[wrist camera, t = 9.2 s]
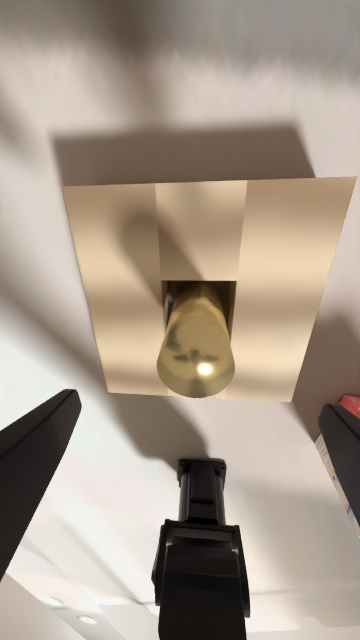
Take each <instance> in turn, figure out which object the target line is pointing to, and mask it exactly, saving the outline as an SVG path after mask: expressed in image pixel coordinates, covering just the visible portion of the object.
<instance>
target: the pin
mask: <svg viewBox="0 0 360 640" xmlns="http://www.w3.org/2000/svg"><path fill="white" fill-rule="evenodd" d="M157 372H158V375H159V377H160V379H161V381H162V382H163V383H164V384H165V386H167V387H168V388H169V389H170V390H172V391H173V392H175V393H177V394H179V395H182V396H186V397H191V398H204V397H209V396H213V395H215V394H217V393H219V392H221V391H222V390H224V389H225V388H226V387H227V386H228V385H229V384H230V383H231V381H232V379H233V377H234V374H235V362H234V357H233V353H232V349H231V344H230V340H229V335H228V331H227V326H226V322H225V317H224V313H223V309H222V304H221V300H220V295H219V292H218V289H217V288H216V286H215V285H214V284H213V283H212V282H210V281H200V280H188V281H186V282H185V283H183V284H182V285H181V287H180V288H179V290H178V292H177V296H176V299H175V302H174V306H173V309H172V312H171V316H170V319H169V322H168V326H167V329H166V332H165V336H164V339H163V342H162V346H161V349H160V352H159V356H158V359H157Z"/></svg>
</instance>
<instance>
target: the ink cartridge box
mask: <svg viewBox="0 0 360 640" xmlns="http://www.w3.org/2000/svg"><path fill="white" fill-rule="evenodd" d="M339 404H340V405H342V406H343V407H345V408H346V409H347V410H349V411H350V412H352V413H353V414H354V415H356V416H357V417H358V418H360V397H357V396H349V395H344V396H343V398H342V400H341V401H340V403H339ZM315 446H316V448H317V450H318V452H319V454H320V456H321V459H322V461H323V463H324V465H325V467H326V469H327V471H328V473H329V476H330V478H331V480H332V482H333V484H334V486H335V488H336V490H337V492H338V494H339V496H340V499H341V501H342V503H343V505H344V507H345V509H346V511H347V513H348V515H349V518H350V520H351V522H352V524H353V526H354V528H355V530H356V532H357V535H358V537H359V539H360V527H359V525H358V523H357V520H356V518H355V516H354V514H353V512H352V509H351V507H350V505H349V503H348V501H347V498H346V496H345V494H344V492H343V489H342V487H341V485H340V483H339V481H338V478H337V476H336V474H335V471H334V468H333V466H332V463H331V460H330V457H329V454H328V451H327V448H326V445H325V442H324V439H323V437H322V434H321V433H320V435H319V437H318V438H317V440H316V441H315Z"/></svg>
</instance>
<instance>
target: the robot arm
mask: <svg viewBox="0 0 360 640" xmlns="http://www.w3.org/2000/svg"><path fill="white" fill-rule="evenodd" d="M81 407H82V405H81V401H80V398H79V395H78V392H77V390H75V389H64V390H62V391H61V392H59V393H58V394H56V395H55V396H53V397H52V398H50V399H49V400H47V401H46V402H44V403H42V404H41V405H39V406H38V407H36V408H35V409H33V410H32V411H30V412H29V413H27V414H26V415H24V416H22V417H21V418H19V419H18V420H16V421H15V422H13V423H12V424H10V425H9V426H7V427H6V428H4V429H3V430H1V431H0V582H1V580H2V577H3V576H4V574H5V572H6V570H7V568H8V566H9V564H10V562H11V560H12V558H13V555H14V553H15V551H16V549H17V547H18V545H19V543H20V541H21V539H22V537H23V535H24V533H25V531H26V529H27V527H28V525H29V523H30V521H31V519H32V517H33V515H34V513H35V511H36V509H37V507H38V505H39V503H40V501H41V499H42V497H43V495H44V493H45V491H46V489H47V487H48V485H49V483H50V481H51V479H52V477H53V475H54V473H55V471H56V469H57V467H58V465H59V463H60V461H61V459H62V457H63V455H64V452H65V450H66V448H67V445H68V443H69V440H70V438H71V435H72V432H73V430H74V427H75V425H76V422H77V420H78V417H79V414H80V412H81ZM318 424H319V428H320V431H321V434H322V437H323V439H324V442H325V445H326V448H327V451H328V454H329V457H330V460H331V463H332V466H333V468H334V471H335V474H336V476H337V478H338V481H339V483H340V485H341V487H342V489H343V492H344V494H345V496H346V498H347V501H348V503H349V505H350V507H351V509H352V512H353V514H354V516H355V518H356V520H357V523H358V525H359V527H360V418H358V417H357V416H356V415H354V414H353V413H352V412H350V411H349V410H347V409H346V408H345V407H343V406H342V405H340V404H337V403H326V404H324V406H323V408H322V411H321V413H320V416H319V419H318ZM178 469H179V487H180V488H181V490H180V504H179V517H178V521H173V520H170V519H165V524H164V525H162V526H161V530H160V538H159V545H158V549H157V553H156V558H155V562H154V566H153V570H152V576H151V580H152V582H153V584H154V586H155V604H156V606H160V613H159V625H158V633H159V638H160V640H247V639H246V628H245V618H244V617H247V618H250V598H249V587H248V579H247V572H246V565H245V559H244V553H243V547H242V541H241V534H240V528H239V525H234V526H230V525H226V522H225V509H224V497H223V490H224V483H225V476H226V464H225V463H220V462H207V461H195V460H179V462H178ZM232 550H233V551H232Z"/></svg>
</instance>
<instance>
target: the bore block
mask: <svg viewBox="0 0 360 640" xmlns="http://www.w3.org/2000/svg"><path fill="white" fill-rule="evenodd" d="M356 179H357V177H327V178H297V179H267V180H238V181H208V182H178V183H149V184H119V185H89V186H61V188H62V192H63V196H64V201H65V205H66V210H67V214H68V218H69V223H70V227H71V232H72V236H73V240H74V245H75V249H76V254H77V258H78V262H79V267H80V271H81V276H82V280H83V284H84V289H85V293H86V298H87V302H88V306H89V311H90V315H91V320H92V324H93V329H94V333H95V337H96V342H97V346H98V351H99V355H100V359H101V364H102V368H103V373H104V377H105V381H106V386H107V390H108V393H126V394H144V395H163V396H181V397H186V396H182V395H179V394H177V393H175V392H173V391H172V390H170V389H169V388H168V387H167V386H165V384H164V383H163V382H162V381H161V379H160V377H159V375H158V372H157V359H158V356H159V352H160V349H161V346H162V342H163V339H164V336H165V332H166V329H167V326H168V322H169V319H170V316H171V312H172V309H173V306H174V302H175V299H176V296H177V292H178V290H179V288H180V287H181V285H182V284H183V283H185V282H186V281H188V280H200V281H210V282H212V283H213V284H214V285H215V286H216V288H217V289H218V292H219V295H220V300H221V304H222V309H223V313H224V317H225V322H226V326H227V331H228V335H229V340H230V344H231V349H232V353H233V357H234V362H235V374H234V377H233V379H232V381H231V383H230V384H229V385H228V386H227V387H226V388H225V389H224V390H222V391H221V392H219V393H217V394H215V395H213V396H209V397H204V398H218V399H237V400H255V401H274V402H291V400H292V397H293V393H294V390H295V387H296V383H297V380H298V376H299V373H300V370H301V366H302V363H303V359H304V356H305V353H306V349H307V346H308V342H309V339H310V336H311V332H312V329H313V325H314V322H315V319H316V315H317V312H318V308H319V305H320V302H321V298H322V295H323V291H324V288H325V285H326V281H327V278H328V274H329V271H330V268H331V264H332V261H333V258H334V254H335V251H336V247H337V244H338V241H339V237H340V234H341V230H342V227H343V224H344V220H345V217H346V213H347V210H348V207H349V203H350V200H351V196H352V193H353V190H354V186H355V183H356Z"/></svg>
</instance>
